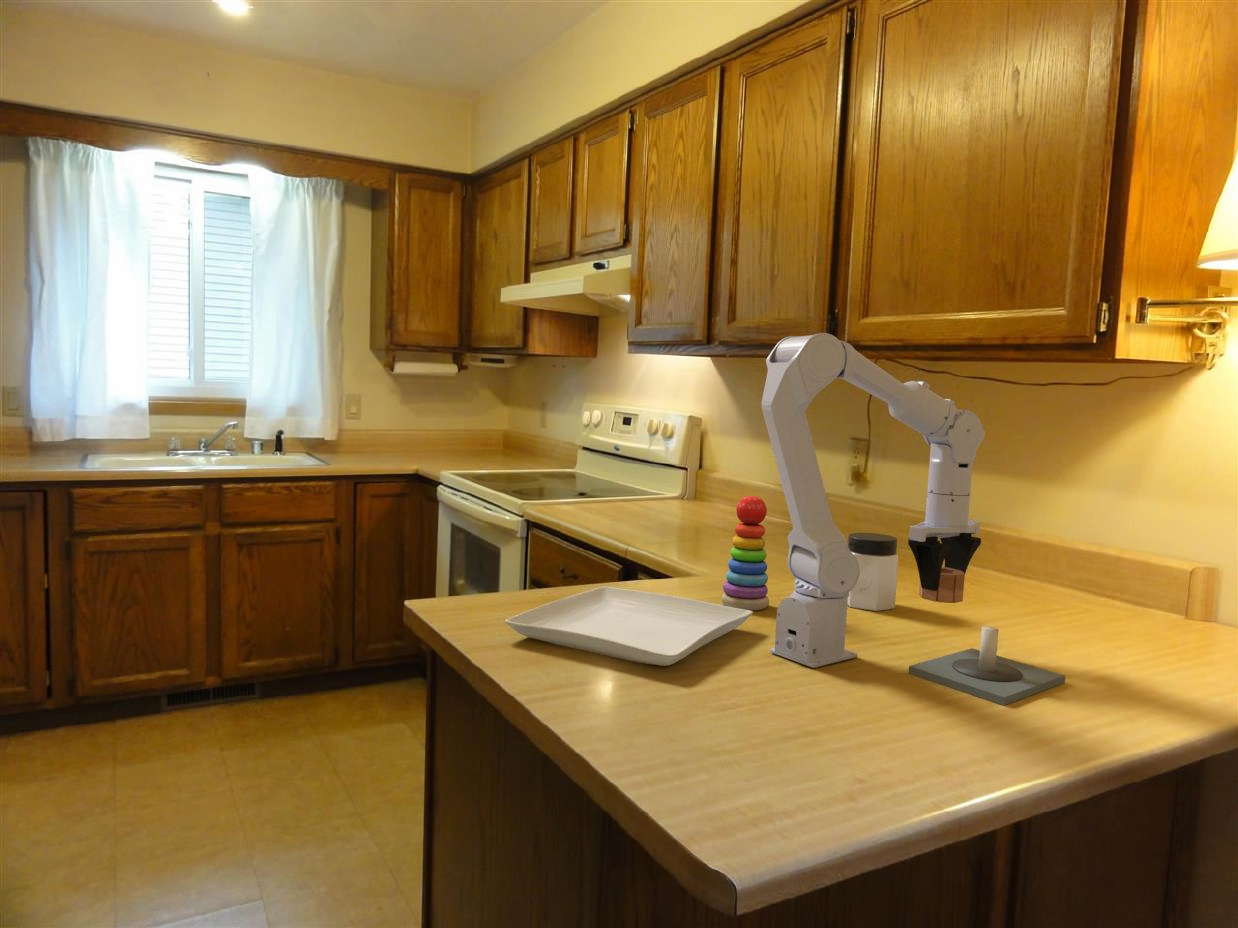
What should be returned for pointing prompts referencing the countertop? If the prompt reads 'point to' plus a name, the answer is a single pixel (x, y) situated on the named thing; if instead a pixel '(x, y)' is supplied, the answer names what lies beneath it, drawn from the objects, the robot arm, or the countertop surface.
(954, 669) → the post board
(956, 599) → the collar
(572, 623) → the square plate
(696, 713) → the countertop surface
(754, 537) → the stacking toy
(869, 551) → the jar
